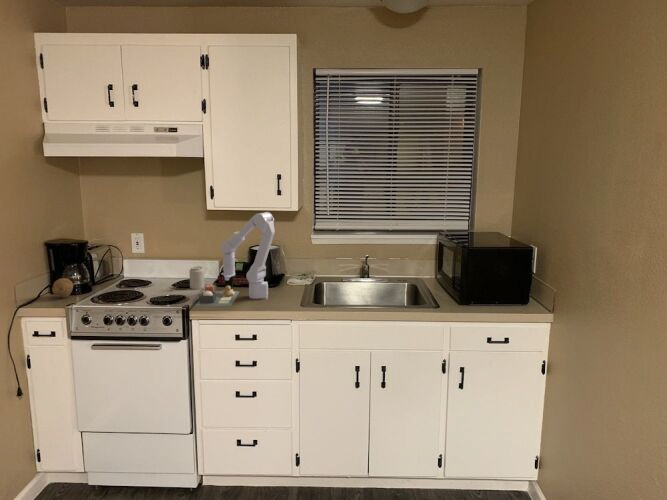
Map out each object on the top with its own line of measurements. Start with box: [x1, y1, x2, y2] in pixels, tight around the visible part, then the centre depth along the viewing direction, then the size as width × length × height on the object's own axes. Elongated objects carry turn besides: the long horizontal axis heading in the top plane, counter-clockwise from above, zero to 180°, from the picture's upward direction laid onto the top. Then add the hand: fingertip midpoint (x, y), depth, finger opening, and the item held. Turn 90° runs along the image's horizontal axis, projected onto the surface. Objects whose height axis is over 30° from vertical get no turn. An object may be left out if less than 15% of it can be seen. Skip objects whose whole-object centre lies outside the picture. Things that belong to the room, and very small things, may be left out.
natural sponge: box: [51, 277, 74, 299], centre depth 231 cm, size 9×9×10 cm
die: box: [204, 284, 215, 292], centre depth 240 cm, size 4×4×4 cm
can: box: [188, 266, 205, 290], centre depth 252 cm, size 8×8×12 cm
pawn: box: [222, 285, 234, 297], centre depth 237 cm, size 5×5×5 cm
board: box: [194, 290, 240, 307], centre depth 233 cm, size 17×26×4 cm, turn 2°
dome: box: [203, 290, 213, 296], centre depth 227 cm, size 5×5×5 cm
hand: (229, 290), depth 242 cm, fingers closed
